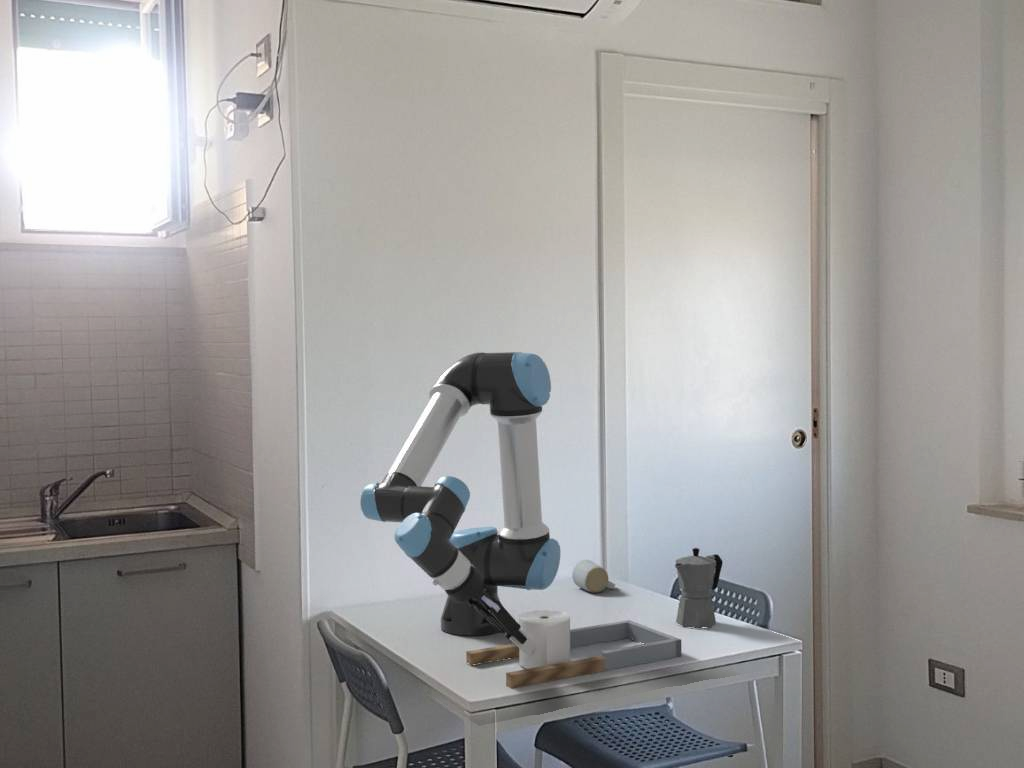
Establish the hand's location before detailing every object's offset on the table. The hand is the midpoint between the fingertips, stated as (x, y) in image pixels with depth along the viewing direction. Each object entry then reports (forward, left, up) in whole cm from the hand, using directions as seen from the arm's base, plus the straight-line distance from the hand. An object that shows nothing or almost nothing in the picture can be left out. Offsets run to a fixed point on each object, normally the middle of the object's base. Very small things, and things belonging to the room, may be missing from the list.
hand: (530, 649), depth 225 cm
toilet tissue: (+2, +5, -5) cm, 7 cm away
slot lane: (0, +3, -4) cm, 5 cm away
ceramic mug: (+5, +73, -5) cm, 74 cm away
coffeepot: (+33, +43, -5) cm, 54 cm away
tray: (+16, +16, -4) cm, 23 cm away
